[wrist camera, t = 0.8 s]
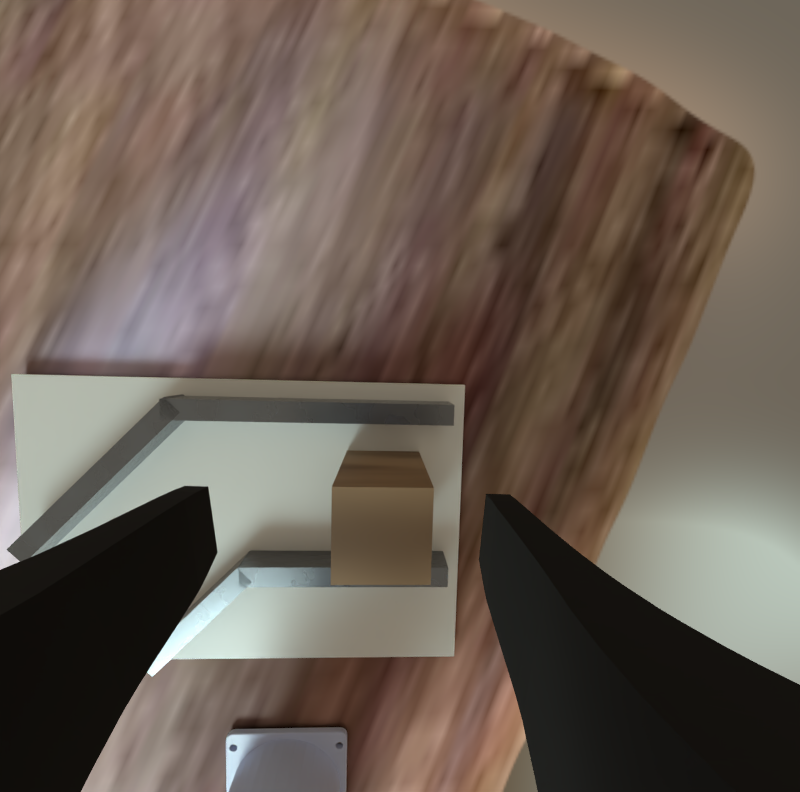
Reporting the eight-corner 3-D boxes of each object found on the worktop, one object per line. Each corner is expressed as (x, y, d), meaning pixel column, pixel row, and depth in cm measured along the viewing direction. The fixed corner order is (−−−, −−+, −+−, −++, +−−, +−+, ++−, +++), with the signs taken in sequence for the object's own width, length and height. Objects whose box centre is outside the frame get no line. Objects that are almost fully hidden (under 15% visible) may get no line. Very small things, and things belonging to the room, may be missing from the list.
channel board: (452, 649, 25) (454, 657, 25) (37, 653, 24) (26, 661, 24) (463, 384, 24) (465, 385, 23) (21, 373, 23) (9, 374, 22)
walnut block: (416, 520, 24) (430, 584, 17) (345, 520, 24) (330, 584, 17) (419, 451, 24) (434, 488, 17) (347, 450, 23) (331, 486, 16)
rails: (439, 648, 25) (444, 673, 23) (45, 651, 24) (14, 678, 22) (448, 399, 23) (454, 403, 21) (31, 390, 22) (-4, 393, 20)
